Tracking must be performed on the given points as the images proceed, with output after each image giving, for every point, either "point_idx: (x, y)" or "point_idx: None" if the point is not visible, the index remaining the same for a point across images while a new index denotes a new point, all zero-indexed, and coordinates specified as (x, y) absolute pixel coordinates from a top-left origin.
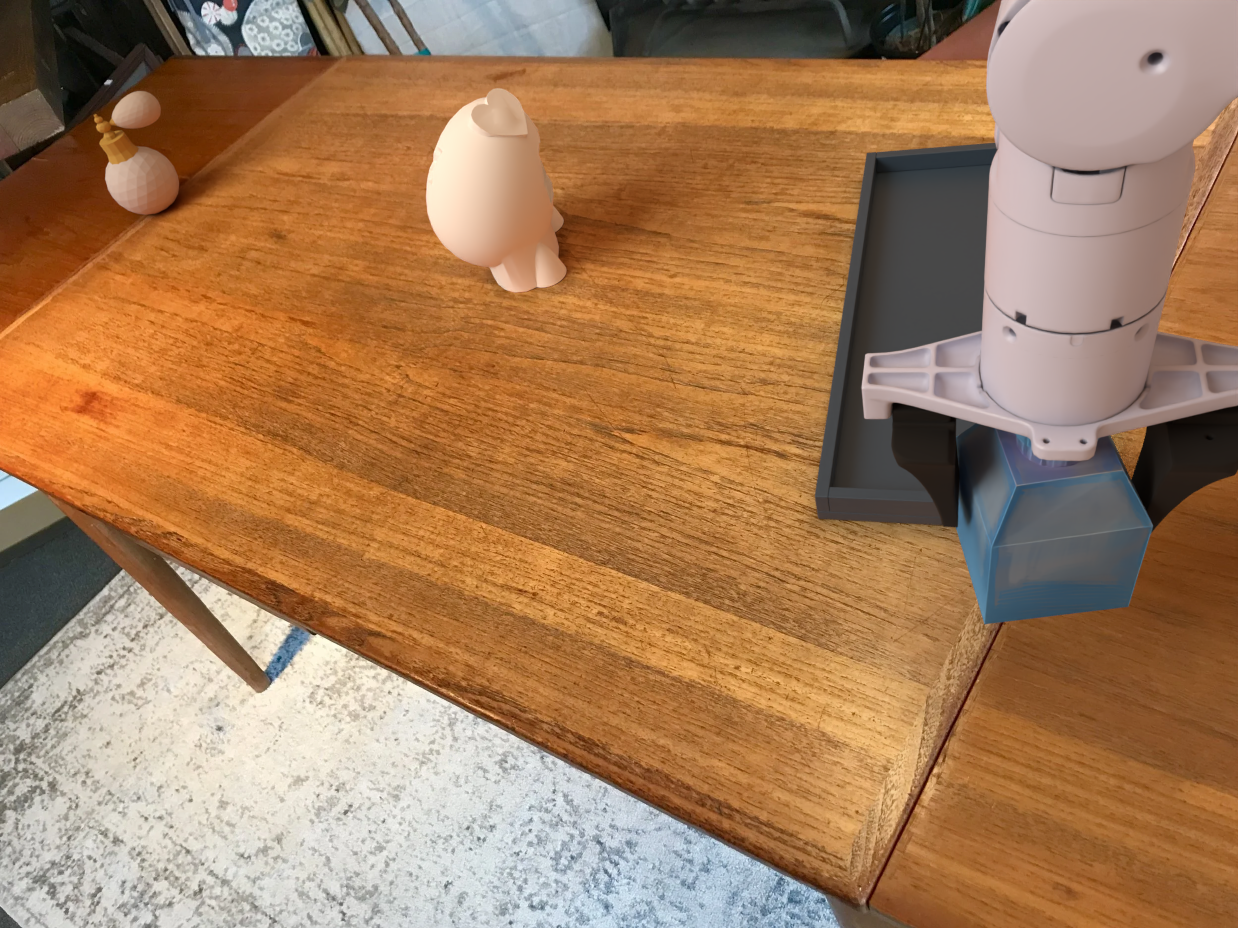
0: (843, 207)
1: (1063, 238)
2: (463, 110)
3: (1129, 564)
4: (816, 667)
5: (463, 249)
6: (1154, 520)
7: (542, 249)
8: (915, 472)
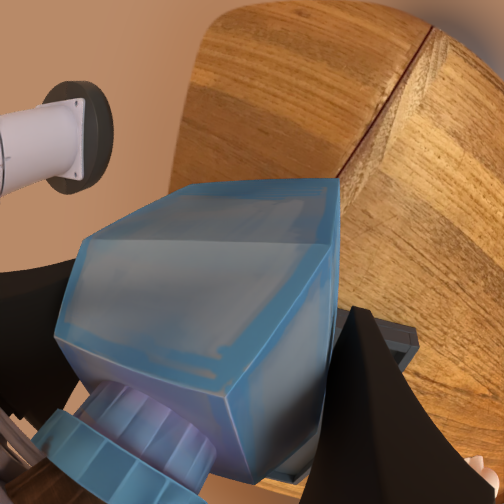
0: None
1: None
2: None
3: (151, 207)
4: (456, 203)
5: (494, 478)
6: None
7: None
8: (453, 459)
